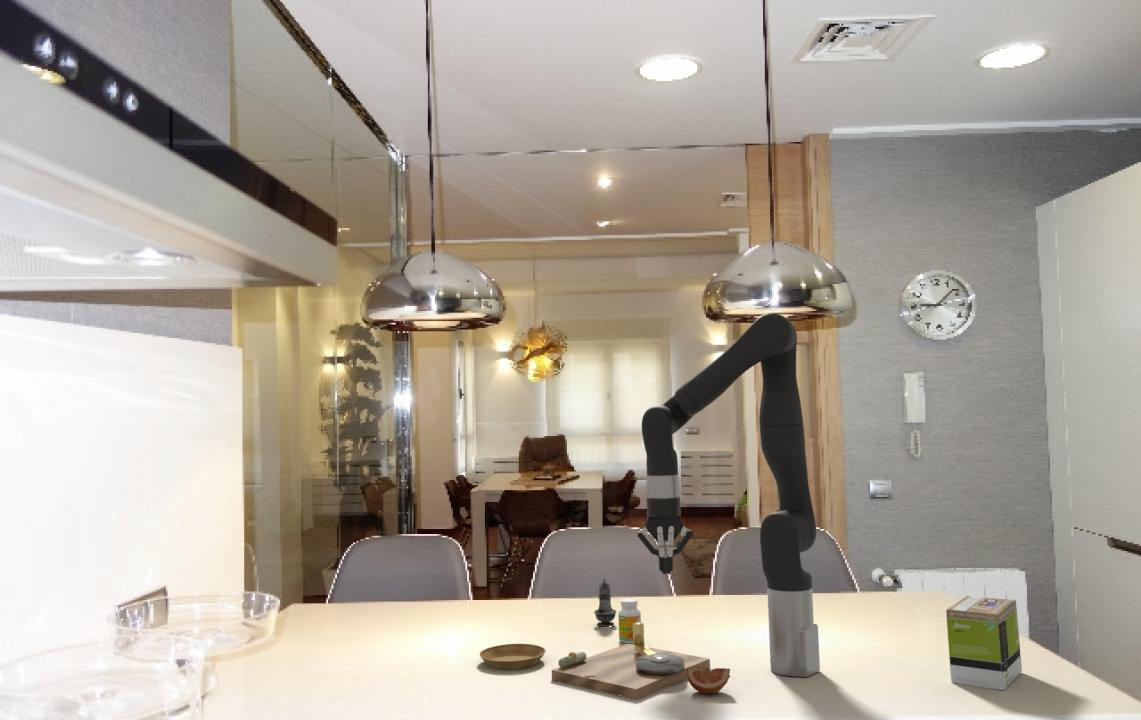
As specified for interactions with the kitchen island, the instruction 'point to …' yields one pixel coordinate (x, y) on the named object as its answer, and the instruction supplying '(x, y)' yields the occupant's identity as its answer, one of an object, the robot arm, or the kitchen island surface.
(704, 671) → the fruit slice
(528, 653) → the plant saucer
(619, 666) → the levelling board
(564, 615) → the kitchen island surface
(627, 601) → the supplement bottle
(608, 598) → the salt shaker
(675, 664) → the grey and tan lever
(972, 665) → the tea box
